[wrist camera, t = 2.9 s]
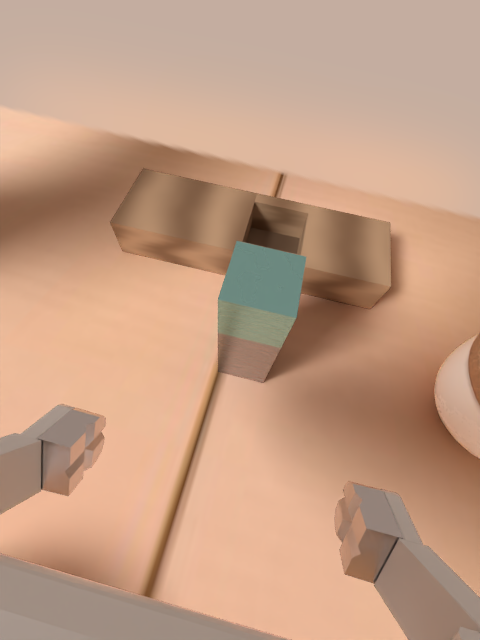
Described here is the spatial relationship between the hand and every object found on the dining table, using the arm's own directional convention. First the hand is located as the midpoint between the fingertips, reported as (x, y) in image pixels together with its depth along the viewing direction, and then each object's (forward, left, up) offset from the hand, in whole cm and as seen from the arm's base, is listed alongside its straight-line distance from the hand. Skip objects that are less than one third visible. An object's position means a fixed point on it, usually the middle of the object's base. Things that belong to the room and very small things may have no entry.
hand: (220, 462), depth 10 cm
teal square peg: (0, +9, -14) cm, 17 cm away
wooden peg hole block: (-2, +21, -14) cm, 25 cm away
